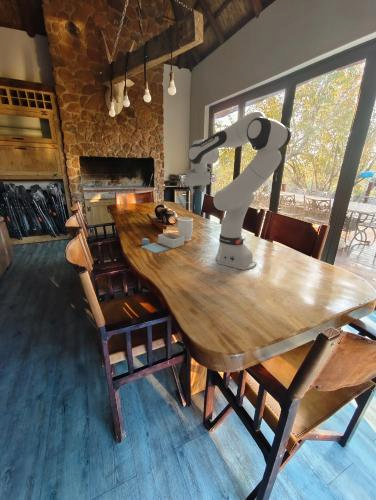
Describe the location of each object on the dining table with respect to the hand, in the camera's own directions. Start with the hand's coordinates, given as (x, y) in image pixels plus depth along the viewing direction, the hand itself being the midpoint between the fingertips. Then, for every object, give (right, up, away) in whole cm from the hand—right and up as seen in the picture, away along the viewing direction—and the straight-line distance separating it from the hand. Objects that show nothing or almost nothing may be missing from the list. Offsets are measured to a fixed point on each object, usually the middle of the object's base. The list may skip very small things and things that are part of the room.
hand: (197, 192), depth 148 cm
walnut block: (-15, -33, +4) cm, 36 cm away
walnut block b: (-19, -31, +8) cm, 37 cm away
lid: (-28, -35, -1) cm, 45 cm away
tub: (-17, -32, +6) cm, 37 cm away
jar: (-8, -29, +17) cm, 34 cm away
